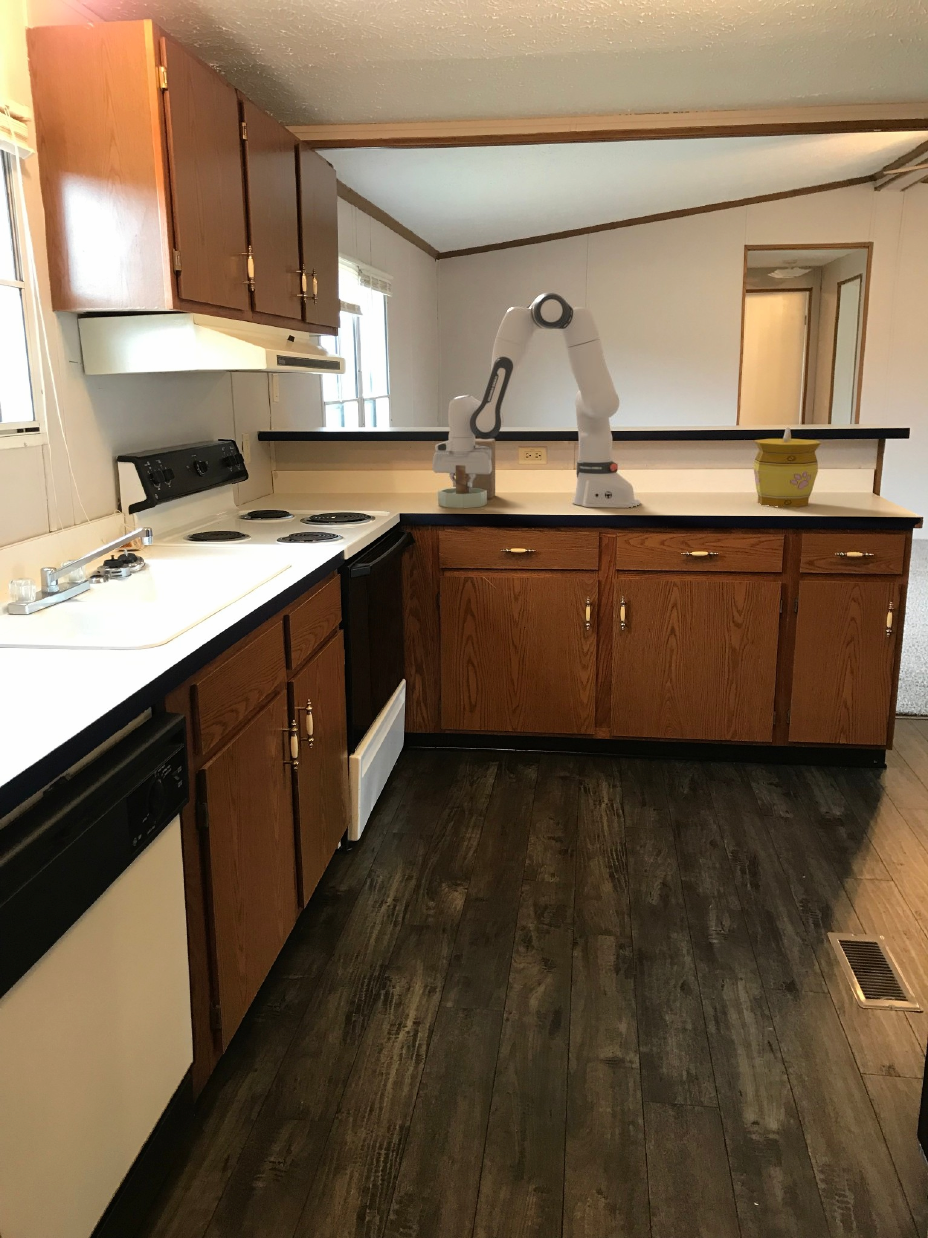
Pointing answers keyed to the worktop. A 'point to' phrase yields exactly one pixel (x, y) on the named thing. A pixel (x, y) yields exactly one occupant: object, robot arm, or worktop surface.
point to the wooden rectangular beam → (461, 480)
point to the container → (785, 471)
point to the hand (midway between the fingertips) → (462, 486)
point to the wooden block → (486, 479)
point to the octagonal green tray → (462, 498)
